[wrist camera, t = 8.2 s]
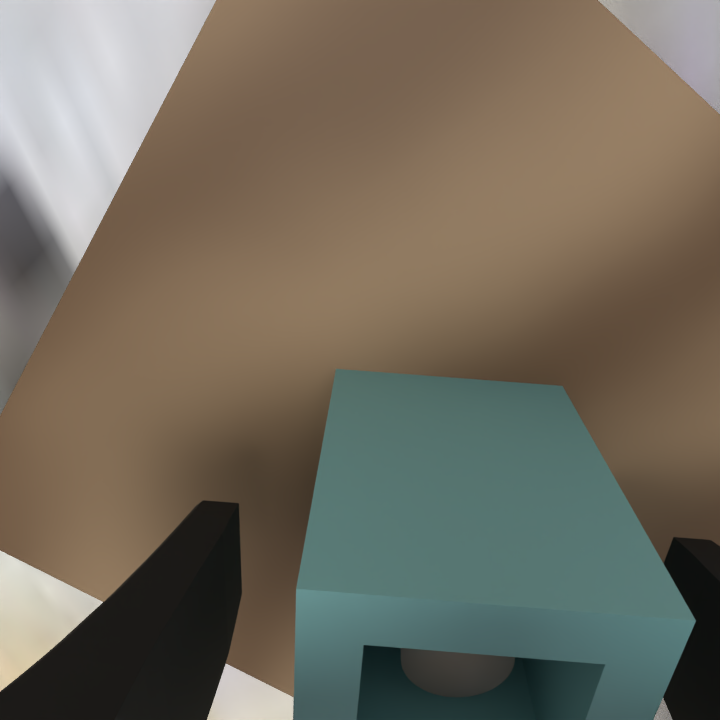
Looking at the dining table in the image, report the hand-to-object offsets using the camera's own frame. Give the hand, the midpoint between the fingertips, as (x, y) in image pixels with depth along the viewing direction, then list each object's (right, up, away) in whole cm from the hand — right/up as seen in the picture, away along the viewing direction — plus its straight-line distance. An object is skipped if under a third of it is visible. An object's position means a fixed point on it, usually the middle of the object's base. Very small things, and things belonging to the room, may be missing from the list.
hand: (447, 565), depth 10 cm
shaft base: (0, +2, +3) cm, 4 cm away
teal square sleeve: (0, +1, +2) cm, 3 cm away
